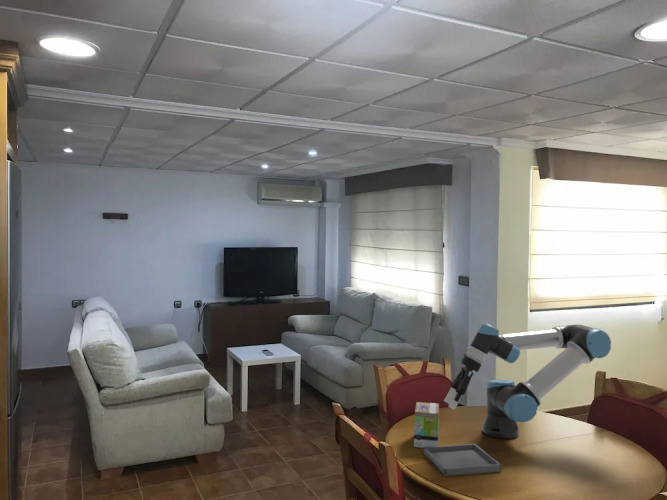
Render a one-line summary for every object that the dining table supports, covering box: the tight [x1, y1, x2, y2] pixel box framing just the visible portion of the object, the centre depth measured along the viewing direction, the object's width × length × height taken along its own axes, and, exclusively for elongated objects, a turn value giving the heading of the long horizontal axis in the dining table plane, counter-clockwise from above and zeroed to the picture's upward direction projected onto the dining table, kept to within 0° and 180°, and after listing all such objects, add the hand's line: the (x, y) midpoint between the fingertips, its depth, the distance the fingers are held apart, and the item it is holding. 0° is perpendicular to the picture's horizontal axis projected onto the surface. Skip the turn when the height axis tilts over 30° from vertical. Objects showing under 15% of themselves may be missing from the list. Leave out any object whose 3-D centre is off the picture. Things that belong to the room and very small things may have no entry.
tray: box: [422, 443, 502, 477], centre depth 205 cm, size 22×21×2 cm
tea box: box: [413, 401, 440, 449], centre depth 226 cm, size 15×10×15 cm, turn 168°
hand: (448, 405), depth 219 cm, fingers open, 13 cm apart
